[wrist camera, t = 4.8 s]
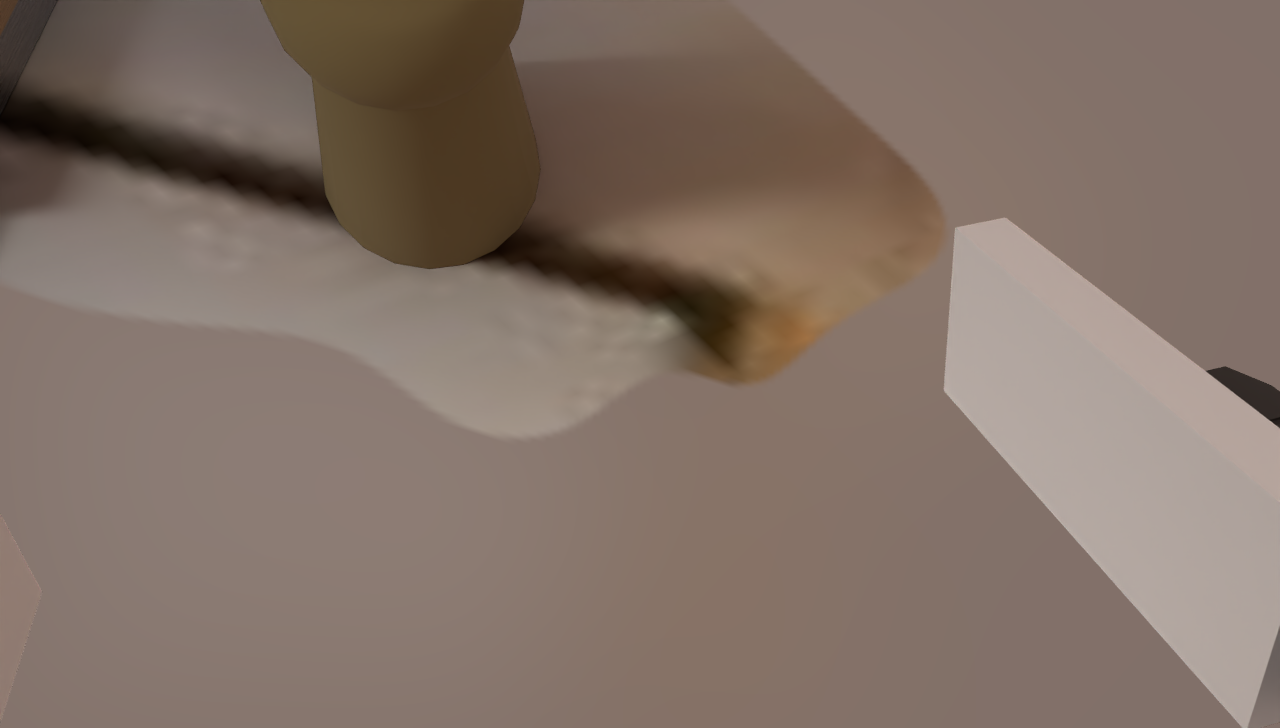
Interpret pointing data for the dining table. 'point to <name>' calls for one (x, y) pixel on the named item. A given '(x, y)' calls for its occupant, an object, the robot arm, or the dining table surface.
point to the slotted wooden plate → (19, 38)
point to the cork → (417, 121)
